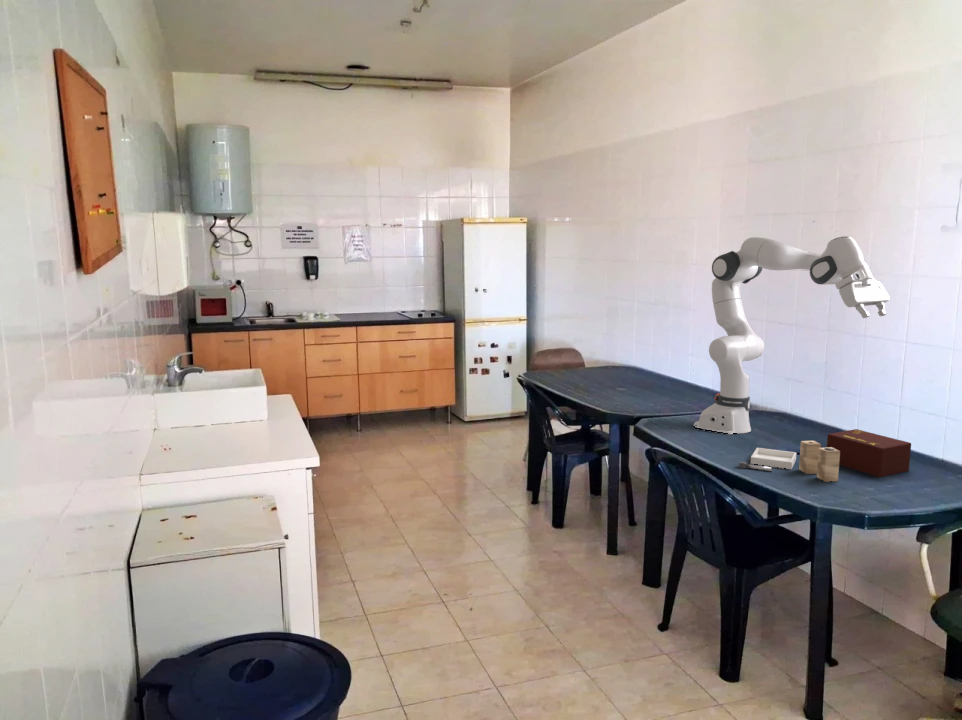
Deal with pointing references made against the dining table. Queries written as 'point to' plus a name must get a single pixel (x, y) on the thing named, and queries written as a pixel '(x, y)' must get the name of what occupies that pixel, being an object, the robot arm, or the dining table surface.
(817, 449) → the small-bore block
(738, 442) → the dining table surface
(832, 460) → the large-bore block
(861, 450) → the box
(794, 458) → the tray
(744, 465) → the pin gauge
